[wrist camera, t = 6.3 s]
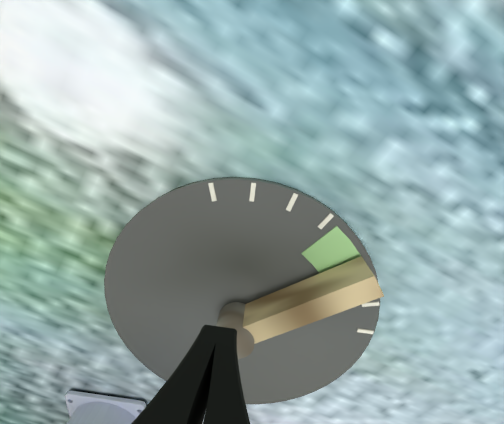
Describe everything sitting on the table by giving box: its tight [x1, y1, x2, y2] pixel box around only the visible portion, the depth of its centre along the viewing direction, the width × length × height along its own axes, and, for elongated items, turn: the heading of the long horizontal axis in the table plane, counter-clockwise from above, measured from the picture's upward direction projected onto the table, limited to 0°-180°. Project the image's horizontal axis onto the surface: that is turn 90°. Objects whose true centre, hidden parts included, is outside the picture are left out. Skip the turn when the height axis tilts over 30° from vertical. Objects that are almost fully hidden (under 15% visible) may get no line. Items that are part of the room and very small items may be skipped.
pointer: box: [216, 256, 384, 359], centre depth 17 cm, size 11×3×2 cm, turn 119°
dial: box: [104, 177, 380, 404], centre depth 20 cm, size 21×21×1 cm
